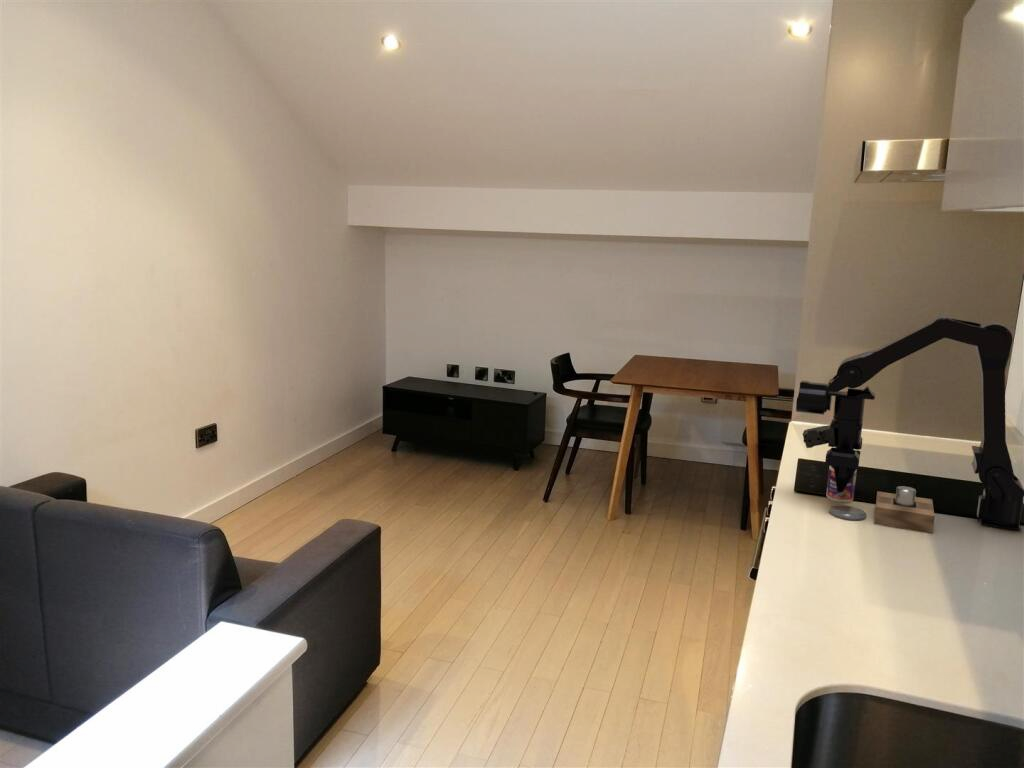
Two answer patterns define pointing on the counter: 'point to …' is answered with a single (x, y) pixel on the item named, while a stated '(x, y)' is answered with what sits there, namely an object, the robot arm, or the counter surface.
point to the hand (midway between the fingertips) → (840, 487)
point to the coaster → (847, 512)
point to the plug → (905, 496)
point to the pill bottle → (832, 488)
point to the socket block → (904, 513)
